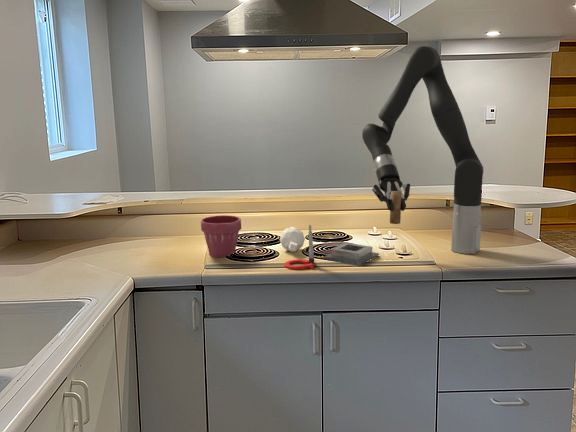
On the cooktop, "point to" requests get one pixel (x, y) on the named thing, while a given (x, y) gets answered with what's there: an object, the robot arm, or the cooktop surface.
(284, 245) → the perfume bottle
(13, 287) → the cooktop surface
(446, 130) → the robot arm
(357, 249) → the plate
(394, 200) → the dowel pin
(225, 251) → the plant pot
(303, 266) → the tow hook
